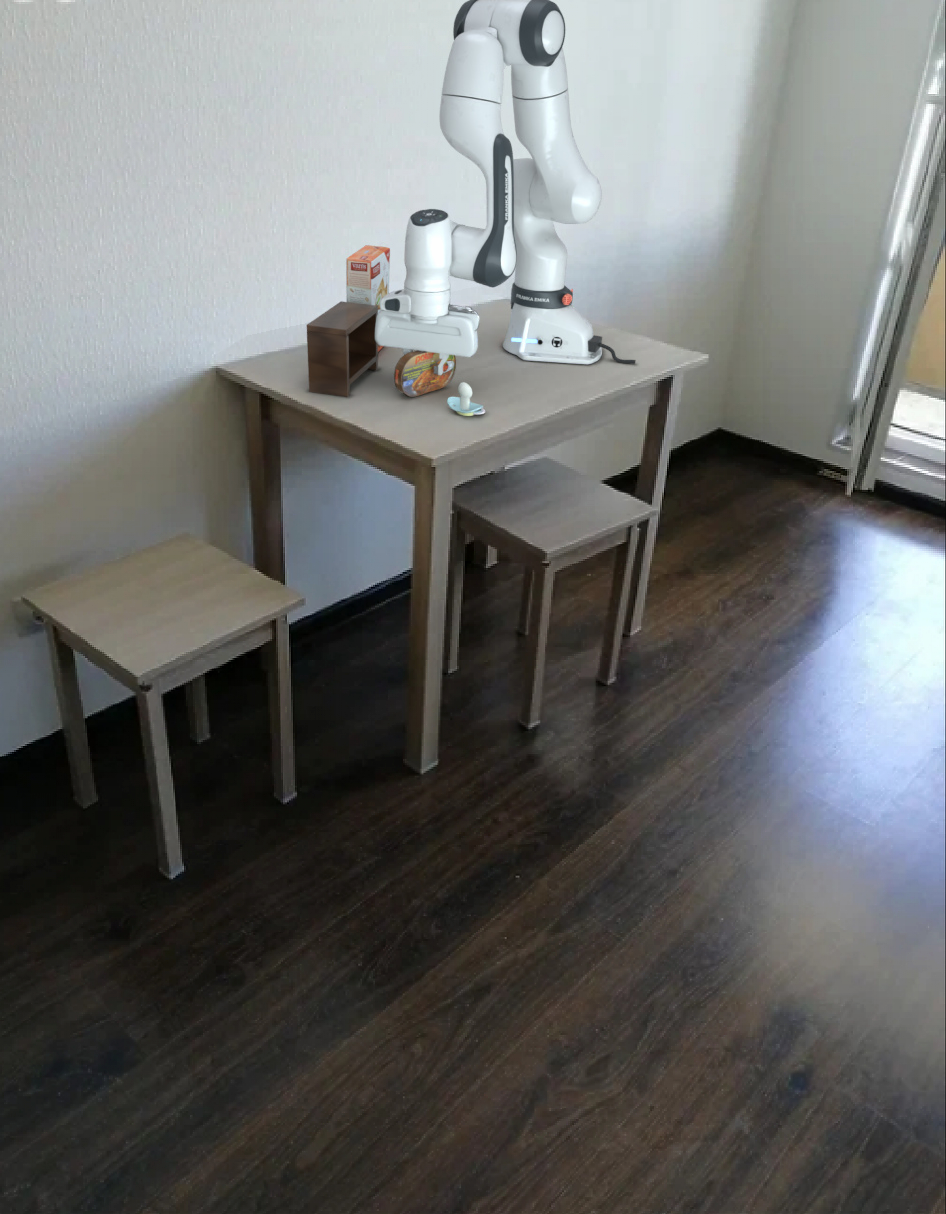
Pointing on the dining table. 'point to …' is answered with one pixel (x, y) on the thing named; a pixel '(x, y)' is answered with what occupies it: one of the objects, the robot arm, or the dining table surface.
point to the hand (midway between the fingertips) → (425, 372)
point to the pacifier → (465, 402)
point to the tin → (422, 373)
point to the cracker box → (368, 276)
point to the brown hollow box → (341, 347)
